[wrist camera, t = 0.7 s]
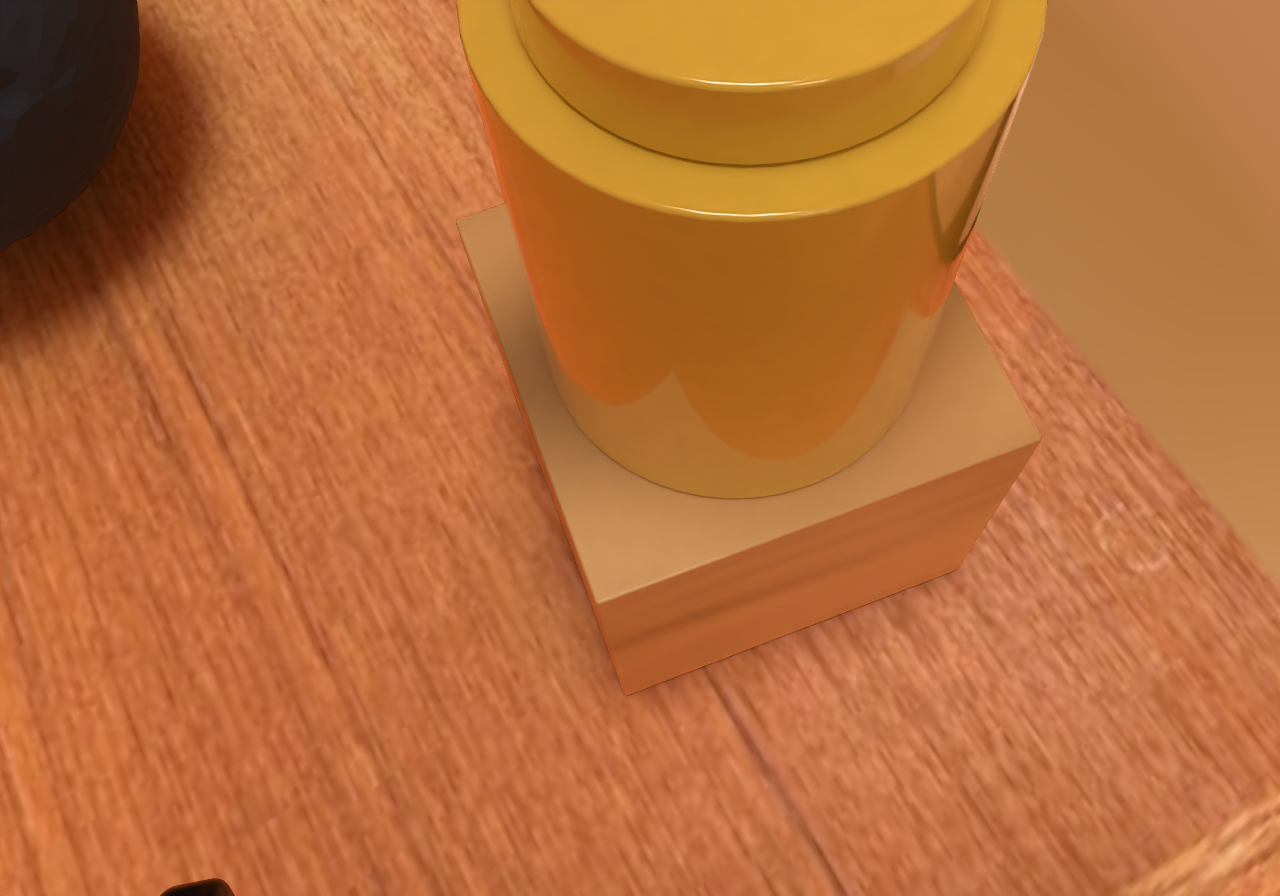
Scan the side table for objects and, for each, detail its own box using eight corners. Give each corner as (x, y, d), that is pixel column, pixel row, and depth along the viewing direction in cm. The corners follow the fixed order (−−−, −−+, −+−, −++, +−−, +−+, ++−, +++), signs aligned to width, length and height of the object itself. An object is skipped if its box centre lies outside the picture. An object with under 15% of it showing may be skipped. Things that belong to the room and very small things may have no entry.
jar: (992, 418, 19) (1210, 11, 11) (619, 557, 19) (550, 236, 10) (830, 121, 22) (907, -397, 13) (496, 234, 21) (360, -235, 13)
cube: (958, 569, 25) (1044, 438, 19) (624, 697, 25) (595, 604, 18) (815, 284, 28) (846, 86, 22) (513, 390, 28) (454, 218, 21)
